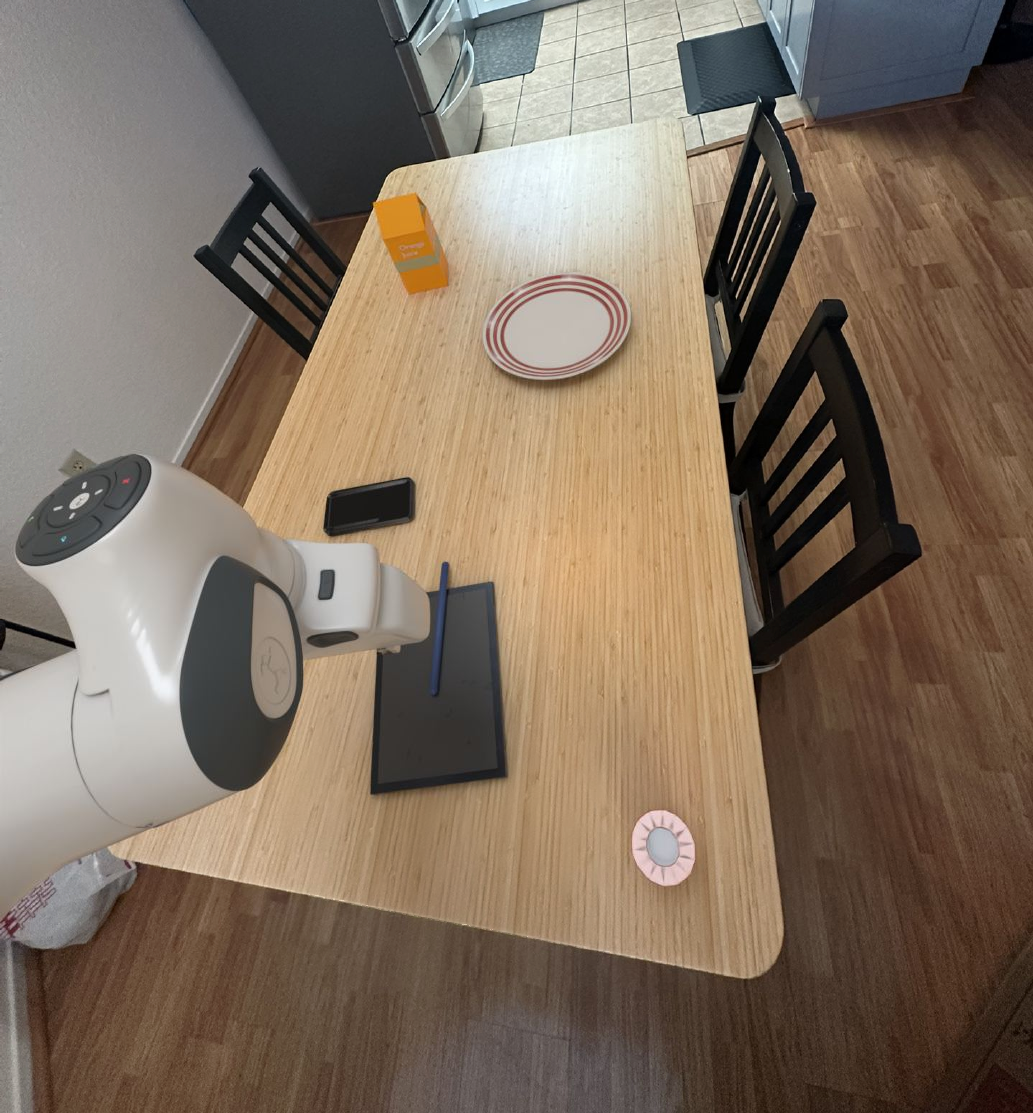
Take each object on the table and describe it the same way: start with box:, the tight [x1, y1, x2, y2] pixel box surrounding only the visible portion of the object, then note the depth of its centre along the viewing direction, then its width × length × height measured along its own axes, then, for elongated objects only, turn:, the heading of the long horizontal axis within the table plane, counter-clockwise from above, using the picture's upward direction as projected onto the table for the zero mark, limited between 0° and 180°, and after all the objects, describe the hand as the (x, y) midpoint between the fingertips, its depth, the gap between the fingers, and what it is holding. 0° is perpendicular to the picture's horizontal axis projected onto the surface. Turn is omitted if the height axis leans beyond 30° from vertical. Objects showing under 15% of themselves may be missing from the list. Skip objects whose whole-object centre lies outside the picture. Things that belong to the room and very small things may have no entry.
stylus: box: [429, 560, 450, 695], centre depth 80 cm, size 1×1×18 cm
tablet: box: [369, 581, 509, 796], centre depth 77 cm, size 24×17×1 cm
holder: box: [630, 808, 697, 888], centre depth 57 cm, size 6×6×13 cm
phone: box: [322, 476, 416, 537], centre depth 94 cm, size 8×1×15 cm
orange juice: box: [372, 191, 449, 295], centre depth 118 cm, size 8×9×20 cm
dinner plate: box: [481, 271, 632, 381], centre depth 107 cm, size 28×27×3 cm
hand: (343, 652), depth 53 cm, fingers open, 8 cm apart
